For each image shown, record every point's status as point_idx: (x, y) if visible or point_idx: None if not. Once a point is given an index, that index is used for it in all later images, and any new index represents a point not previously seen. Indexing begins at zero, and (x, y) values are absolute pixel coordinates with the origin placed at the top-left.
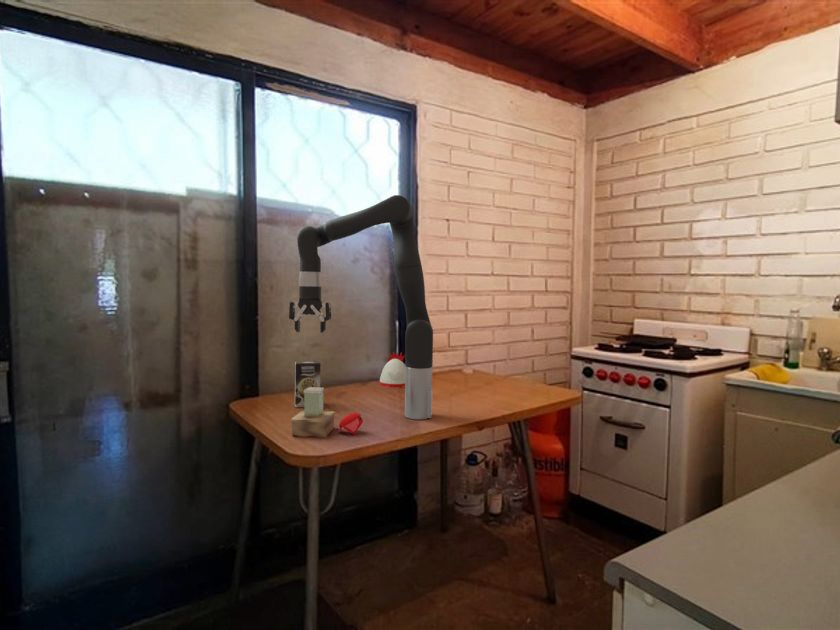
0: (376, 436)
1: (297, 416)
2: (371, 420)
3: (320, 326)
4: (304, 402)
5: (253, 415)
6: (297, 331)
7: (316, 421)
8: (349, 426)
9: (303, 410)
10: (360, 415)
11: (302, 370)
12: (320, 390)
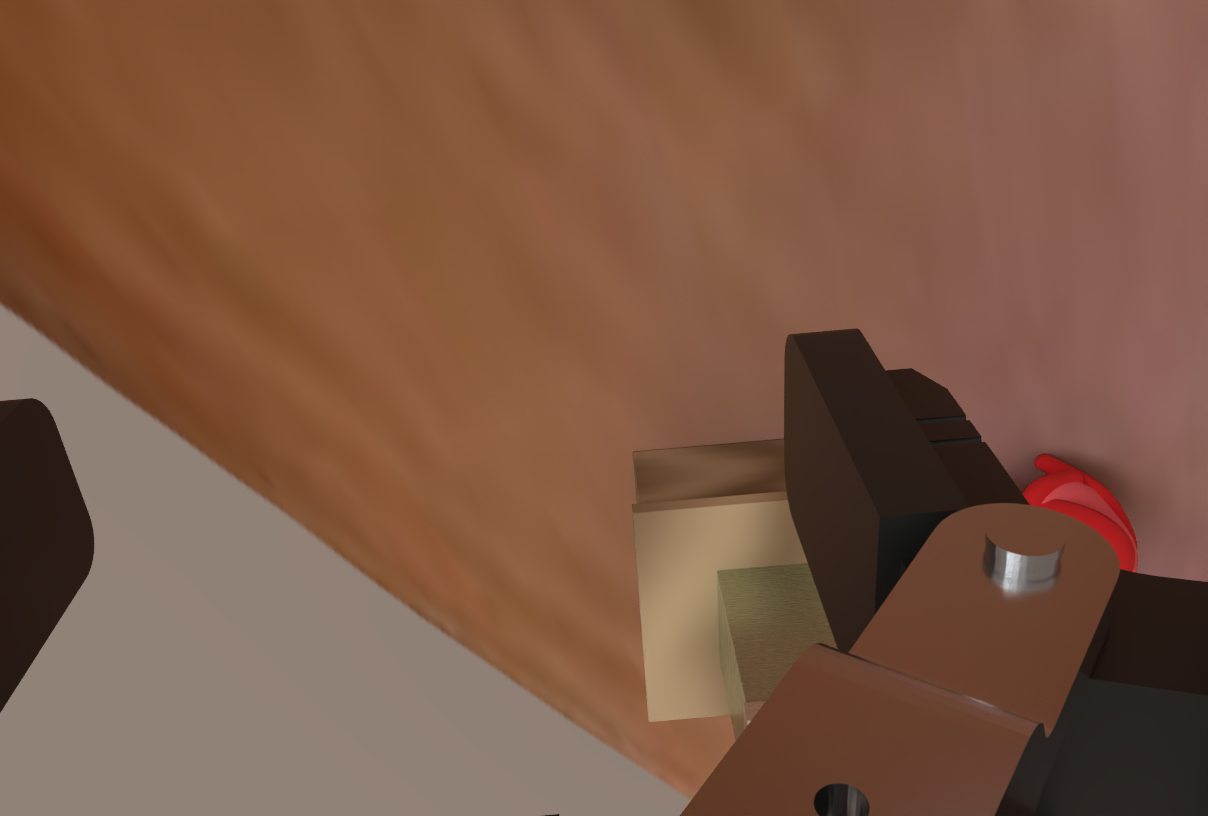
0: (1188, 539)
1: (666, 660)
2: (1149, 181)
3: (828, 617)
4: (736, 738)
5: (70, 262)
6: (70, 559)
7: None
8: None
9: (644, 514)
10: (1134, 564)
11: None
12: None
